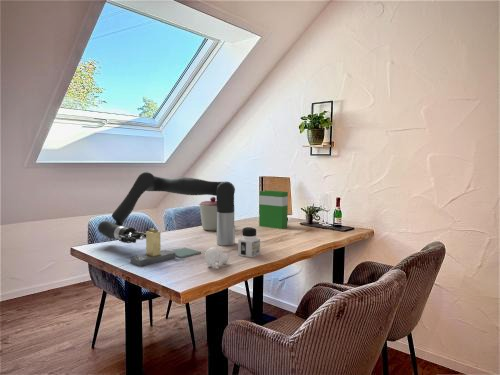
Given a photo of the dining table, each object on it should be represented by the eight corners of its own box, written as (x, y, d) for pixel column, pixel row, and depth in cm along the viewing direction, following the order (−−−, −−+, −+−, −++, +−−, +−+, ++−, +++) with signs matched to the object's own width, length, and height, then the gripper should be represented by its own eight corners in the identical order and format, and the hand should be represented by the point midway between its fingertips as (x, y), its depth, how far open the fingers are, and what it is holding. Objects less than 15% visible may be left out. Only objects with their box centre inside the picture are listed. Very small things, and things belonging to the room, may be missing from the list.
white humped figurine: (203, 247, 150) (222, 244, 159) (202, 267, 150) (221, 263, 159) (214, 249, 146) (233, 246, 156) (213, 270, 146) (232, 266, 156)
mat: (185, 249, 181) (185, 247, 181) (201, 253, 173) (201, 251, 173) (165, 253, 172) (165, 251, 172) (180, 258, 164) (180, 256, 164)
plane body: (165, 254, 169) (165, 249, 169) (175, 258, 164) (175, 252, 164) (130, 262, 156) (130, 257, 156) (140, 266, 151) (140, 260, 151)
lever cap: (154, 258, 163) (153, 227, 162) (160, 260, 160) (160, 229, 159) (146, 260, 160) (146, 228, 159) (152, 262, 157) (152, 230, 156)
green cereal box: (259, 226, 246) (259, 191, 244) (264, 224, 252) (265, 190, 250) (281, 229, 236) (282, 192, 234) (287, 227, 242) (287, 191, 240)
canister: (211, 225, 245) (211, 194, 243) (232, 229, 234) (232, 196, 233) (192, 229, 230) (192, 197, 229) (214, 233, 220) (214, 199, 218)
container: (251, 257, 166) (252, 230, 165) (237, 255, 170) (238, 228, 169) (260, 254, 173) (260, 227, 172) (246, 251, 177) (246, 225, 176)
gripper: (111, 228, 170) (129, 233, 159) (138, 224, 180) (157, 228, 170) (111, 244, 170) (129, 250, 160) (138, 239, 181) (157, 244, 170)
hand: (143, 239), depth 165 cm, fingers open, 8 cm apart
